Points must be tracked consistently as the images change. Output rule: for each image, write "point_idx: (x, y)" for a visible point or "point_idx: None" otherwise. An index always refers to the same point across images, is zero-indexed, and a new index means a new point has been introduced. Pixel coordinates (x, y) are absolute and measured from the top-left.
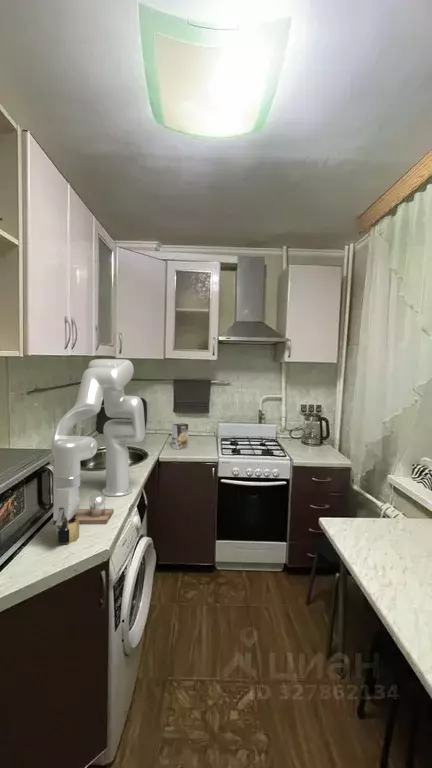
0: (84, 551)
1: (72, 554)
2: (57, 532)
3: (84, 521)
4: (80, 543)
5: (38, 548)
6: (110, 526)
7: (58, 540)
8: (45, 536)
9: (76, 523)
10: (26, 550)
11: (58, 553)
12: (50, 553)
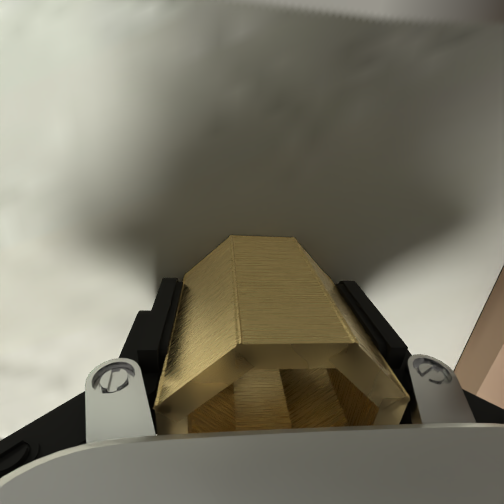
0: None
1: (46, 384)
2: (220, 281)
3: (490, 343)
4: None
5: (92, 124)
6: None
7: (160, 286)
8: (336, 100)
9: None
10: (31, 3)
11: (40, 308)
12: (26, 257)
